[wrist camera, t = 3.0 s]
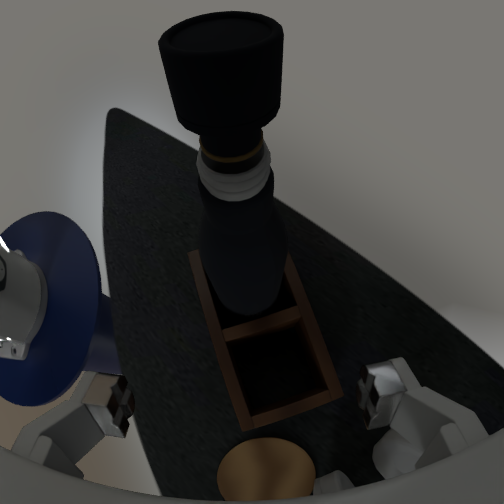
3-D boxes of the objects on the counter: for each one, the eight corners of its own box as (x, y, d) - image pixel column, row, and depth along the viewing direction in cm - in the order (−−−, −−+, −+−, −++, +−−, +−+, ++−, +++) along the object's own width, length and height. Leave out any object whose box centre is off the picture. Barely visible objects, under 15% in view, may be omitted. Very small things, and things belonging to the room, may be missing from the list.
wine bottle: (249, 261, 36) (229, -7, 9) (288, 297, 34) (365, 35, 7) (210, 297, 35) (88, 53, 7) (249, 336, 33) (200, 115, 5)
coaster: (235, 523, 23) (235, 525, 23) (204, 450, 27) (203, 451, 27) (326, 498, 24) (326, 499, 24) (298, 423, 28) (299, 424, 28)
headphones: (411, 398, 29) (535, 397, 10) (438, 447, 25) (551, 470, 7) (278, 485, 25) (298, 589, 7) (313, 532, 22) (355, 631, 4)
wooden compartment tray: (245, 421, 29) (242, 431, 23) (198, 272, 36) (187, 252, 30) (329, 392, 30) (344, 395, 24) (275, 248, 37) (277, 224, 31)
